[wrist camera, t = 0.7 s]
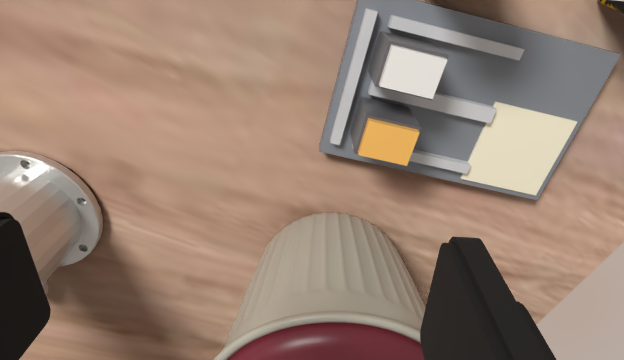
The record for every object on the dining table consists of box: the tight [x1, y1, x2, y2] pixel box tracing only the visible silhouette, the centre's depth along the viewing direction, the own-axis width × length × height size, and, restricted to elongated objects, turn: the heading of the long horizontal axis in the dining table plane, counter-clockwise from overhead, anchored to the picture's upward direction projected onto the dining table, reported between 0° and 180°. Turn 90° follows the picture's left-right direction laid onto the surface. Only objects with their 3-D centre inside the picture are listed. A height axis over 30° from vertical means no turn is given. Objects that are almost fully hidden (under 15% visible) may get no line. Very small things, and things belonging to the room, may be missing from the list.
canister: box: [214, 212, 426, 360], centre depth 32 cm, size 18×18×21 cm
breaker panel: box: [319, 0, 621, 200], centre depth 32 cm, size 13×20×2 cm, turn 77°
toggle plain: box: [368, 31, 449, 100], centre depth 28 cm, size 3×4×5 cm
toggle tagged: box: [350, 96, 422, 166], centre depth 30 cm, size 3×4×5 cm
